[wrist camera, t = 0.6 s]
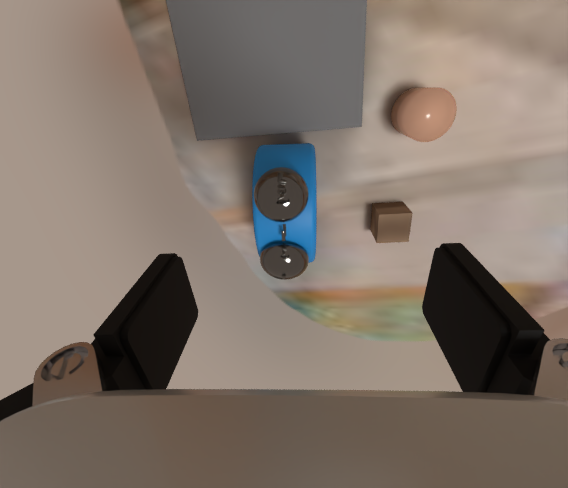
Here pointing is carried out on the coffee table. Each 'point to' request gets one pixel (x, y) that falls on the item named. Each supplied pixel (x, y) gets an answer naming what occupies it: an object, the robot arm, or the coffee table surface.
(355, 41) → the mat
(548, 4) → the coffee table surface
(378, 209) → the walnut block
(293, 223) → the alarm clock
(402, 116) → the tan egg shape
